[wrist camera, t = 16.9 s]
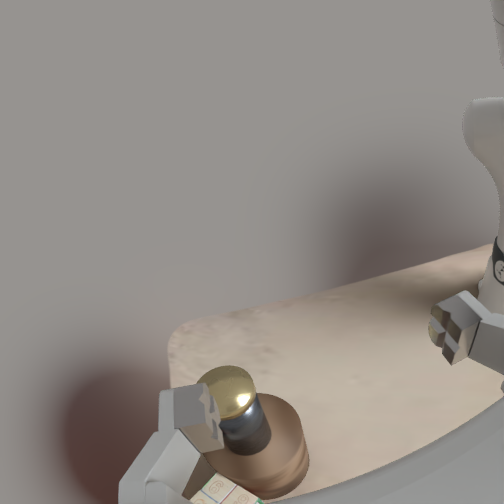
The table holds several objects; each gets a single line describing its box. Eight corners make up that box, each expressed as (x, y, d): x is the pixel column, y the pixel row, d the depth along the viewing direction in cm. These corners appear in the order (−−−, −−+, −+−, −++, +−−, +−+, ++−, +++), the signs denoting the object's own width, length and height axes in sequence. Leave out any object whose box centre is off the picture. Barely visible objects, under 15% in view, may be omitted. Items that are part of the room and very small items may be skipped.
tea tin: (266, 410, 35) (247, 359, 30) (277, 449, 30) (258, 404, 25) (221, 422, 35) (192, 373, 30) (227, 461, 30) (195, 419, 25)
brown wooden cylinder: (297, 419, 43) (287, 382, 38) (319, 486, 32) (314, 462, 28) (220, 438, 42) (197, 405, 38) (230, 507, 32) (205, 487, 27)
